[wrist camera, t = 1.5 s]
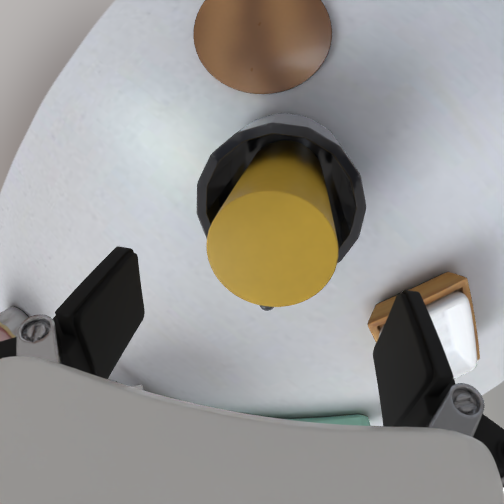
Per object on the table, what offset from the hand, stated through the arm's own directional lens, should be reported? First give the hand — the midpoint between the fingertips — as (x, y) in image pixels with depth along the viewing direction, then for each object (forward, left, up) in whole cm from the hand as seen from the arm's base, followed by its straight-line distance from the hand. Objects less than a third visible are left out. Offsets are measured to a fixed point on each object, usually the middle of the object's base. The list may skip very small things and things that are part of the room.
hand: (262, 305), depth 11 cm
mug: (+1, +1, -16) cm, 16 cm away
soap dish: (-8, +19, -16) cm, 26 cm away
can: (0, 0, -15) cm, 15 cm away
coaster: (-3, -11, -16) cm, 20 cm away
